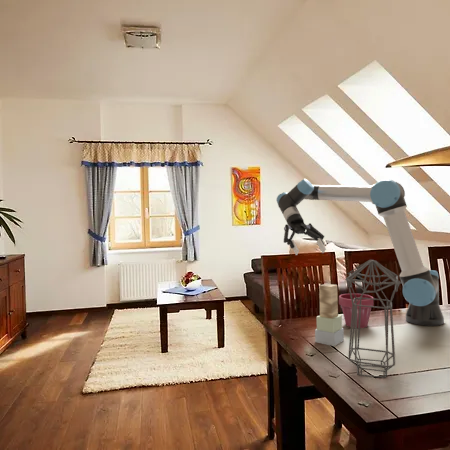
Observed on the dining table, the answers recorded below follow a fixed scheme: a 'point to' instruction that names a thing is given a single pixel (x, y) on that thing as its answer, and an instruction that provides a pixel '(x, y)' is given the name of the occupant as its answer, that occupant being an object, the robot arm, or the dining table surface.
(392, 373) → the dining table surface
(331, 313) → the pillar
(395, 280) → the geometric lantern
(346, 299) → the plant pot
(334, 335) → the tower base
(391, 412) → the dining table surface
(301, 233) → the robot arm
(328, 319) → the tower top
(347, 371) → the dining table surface
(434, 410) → the dining table surface
